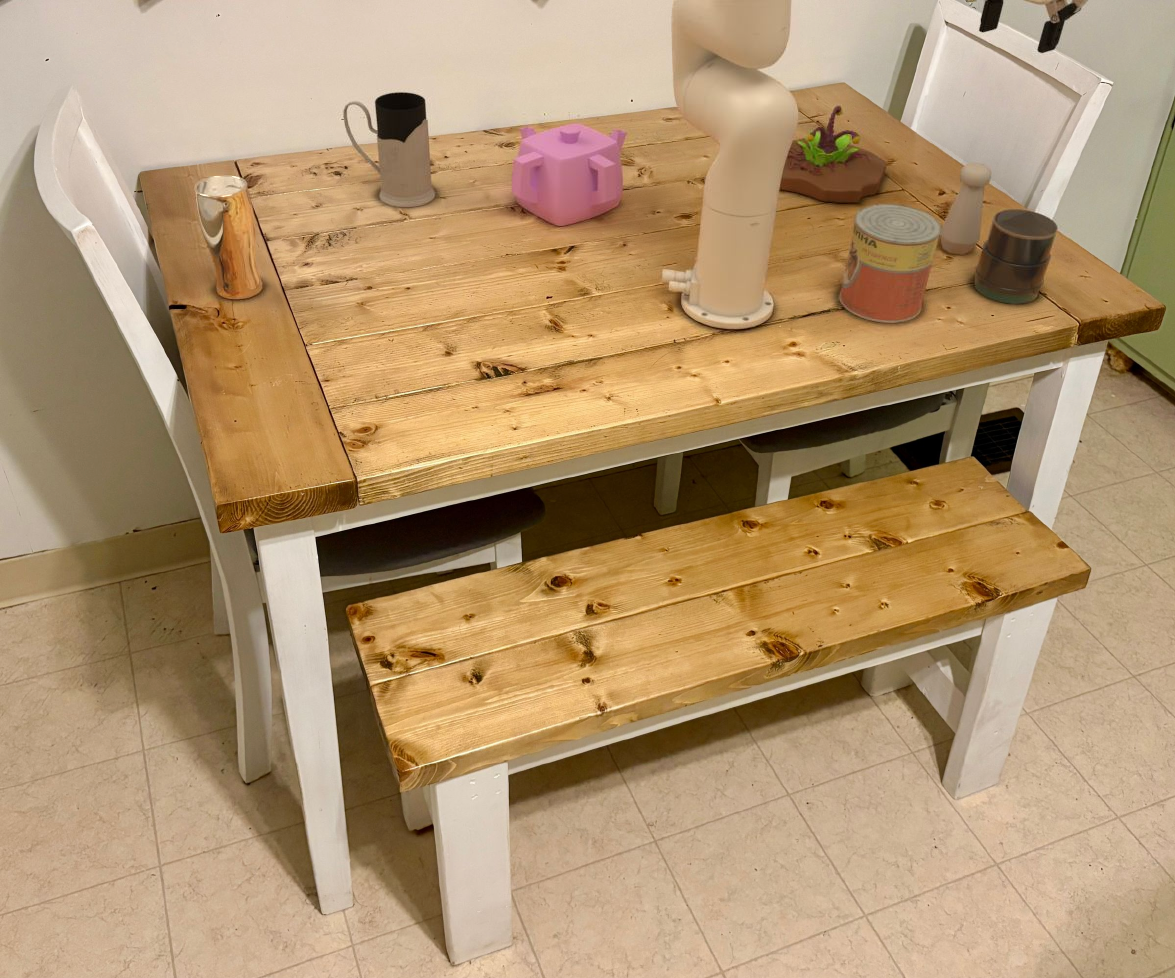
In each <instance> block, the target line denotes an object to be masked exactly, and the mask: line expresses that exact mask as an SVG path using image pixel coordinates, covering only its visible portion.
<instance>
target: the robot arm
mask: <svg viewBox="0 0 1175 978" xmlns="http://www.w3.org/2000/svg"><path fill="white" fill-rule="evenodd" d="M983 1H984V5H983V9H982V12H981V16H980V21H979V22H980V24H979V28H978V31H979V32H980V33H987V32H990V31H991V32H992V31H994V30H997V29H998V26H999V22H1000V18H1001V15H1002V10H1003V7H1004V0H983ZM1024 1H1025V2H1027V3H1031V4H1034V5H1039V6H1042V5H1043V6H1045V9H1046V12H1047V15H1048V17H1049V20H1046V21H1045V22H1044V24H1043V28H1042V31H1041V35H1040V38H1039V42H1038V44H1037V50H1036V51H1037V52H1038V53H1040V54H1044V53H1048V52H1051V51H1054V50H1055V49H1056V48H1057V46H1058V45H1059V43H1060V40H1061V36H1062V33H1063V29H1064V26H1065V23H1066V21H1067V20H1070V19H1071V18H1072V17H1073V16H1074V15H1076V14H1077V13H1079V12H1080V11H1081V10H1082V8H1083V7H1084V6H1085V5H1086V4H1087V2H1088V1H1089V0H1071V1H1070V3H1068V1H1067V0H1024ZM791 17H792V0H673V3H672V7H671V21H670V22H671V23H670V24H671V31H670V32H671V58H672V59H671V60H672V86H673V97H674V101H675V106H676V107H677V110H678V112H679V114H680V115H681V117H682V118H683V119H684V120H685V121H686V122H687V123H689V125H691V126H692V127H694V128H695V129H697V130H698V131H700V132H702V133H703V134H705V135H706V136H708V137H710V138H711V139H712V140H714V141H715V142H717V143H718V145H719V152H718V154H717V156H716V158H715V159H714V161H713V162H712V164H711V165H710V167H709V168H708V171H707V173H706V177H705V181H704V186H703V193H702V207H701V215H700V227H699V234H698V243H697V253H696V262H695V263H694V265H693V269H686V271H681V270H680V271H679V270H675V269H674V270H673V269H666V268H663V269H662V273H661V284H666V285H668V292H674V293H678V292H679V293H681V297H680V298H681V299H680V305H681V308H682V309H683V311H684V313H686V314H687V315H688V317H690V318H692V319H693V320H694V321H696V322H699V323H701V324H703V325H706V326H708V327H712V328H718V329H724V330H725V329H726V330H744V329H749V328H754V327H756V326H757V327H758V326H760V325H761V324H764V323H765V322H766V321H768V320H769V319H770V318H771V316H772V315H773V312H774V307H775V305H774V298H773V296H771V294H770V293H769V291H767V289H766V282H767V275H768V269H769V264H770V263H769V262H770V256H771V249H772V242H773V235H774V229H775V223H776V216H777V209H778V201H779V195H780V183H781V178H782V173H783V168H784V165H785V161H786V158H787V155H788V152H789V149H790V146H791V144H792V141H793V140H795V139H794V138H795V136H796V132H797V130H798V126H799V107H798V105H797V104H798V103H797V102H796V99H795V97H794V96H793V94H792V92H791V91H790V90H789V89H788V88H787V87H786V86H785V85H784V84H783V83H781V82H780V81H779V80H777V78H774V77H772V76H771V75H768V74H766V73H765V72H763V71H761V70H763V69H766V68H770V67H772V66H773V65H775V64H776V63H777V62H778V61H779V60H780V59H781V58H782V57H783V55H784V53H785V51H786V50H787V46H788V42H789V38H790V33H791V32H790V31H791V21H792V19H791Z"/></svg>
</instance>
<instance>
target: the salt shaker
mask: <svg viewBox="0 0 1175 978" xmlns="http://www.w3.org/2000/svg"><path fill="white" fill-rule="evenodd" d="M959 172H960V173H959V181H960V182H961V183H962V184H961V186H960V188H959V189H958V192H957V194H956V196H955V198H954V201H953V202H952V204H951V207H950V208H949V210H948V213H947V215H946V217H945V219H944V221H943V223H942V225H941V233H940V235H939V237H940V242H941V247H942V250H944V251H945V252H948V254H951V255H959V256H964V255H966V254H968V253H970V252H971V251H972V250H973V249H974V247H976V245H977V244H978V243H979V241H980V239H981V233H982V232H981V231H982V218H983V208H984V196H985V195H984V194H985V187H986V186H987V185H989V184H990V182H991V179H992V170H991V168H990V167H988V165H985V164H983V163H979V162H969V163H966V164H965V165H964V166H962V167H961V169H960V171H959Z"/></svg>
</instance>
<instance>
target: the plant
mask: <svg viewBox="0 0 1175 978" xmlns="http://www.w3.org/2000/svg"><path fill="white" fill-rule="evenodd" d="M841 115H843V107H842V106H841V105H836V106H835V107H834V108H833V110H832V112H831V114H830V117H829V118H828V123H827V126H826V129H825V127H824V126H820V125H819V126H817V127H816V128H815V129H812V130H811V131H810V132H809V133H808V134H807V135H806V136H805V137H804V138H797V139H793V141H792V144H791V146H790V149H789V152H788V155H787V158H786V161H785V165H784V168H783V173H782V178H781V183H780V189H779V191H780V190H781V191H786V192H791V193H796V194H799V195H803V196H807V197H810V198H812V199H813V198H814V199H816V200H819V201H820V202H824V203H825V202H829V203H836V204H846V203H849V204H859V203H860V200H861V199H862V198H864V197H869V196H874V195H876V194H877V193H878V190H879V188H880V186H881V184H882V181H883V179H884V178H885V174H886V171H887V170H886V169H887V161H886V160H884V159H882V158H881V157H879V156H878V155H876V154H875V153H873V152H872V151H869V150H867V149H864V148H861V147H858V146H855V145H859V143H860V141H861V136H860V134H858V133H857V132H856V131H854V130H849V129H846V130H842V131H840V132H838V133H836V134H835V131H834V127H835V125H834V124H835V119H836V116H837V117H838V116H841ZM851 143H852V144H854V145H851Z"/></svg>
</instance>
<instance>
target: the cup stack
mask: <svg viewBox="0 0 1175 978" xmlns="http://www.w3.org/2000/svg"><path fill="white" fill-rule="evenodd" d="M1057 233H1058V225H1057V223H1056V222H1055V221H1054V220H1053V219H1052V218H1050V217H1048V216H1047V215H1045V214H1042V213H1039V212H1036V211H1033V210H1032V211H1031V210H1027V209H1017V208H1011V209H1004V210H1000V211H998V212H996V213H995V214H994V216H993V218H992V222H991V226H990V229H989V232H988V235H987V239H986V240H985V241H984V242H983V246H982V249H981V252H980V256H979V260H978V263H977V265H976V266H975V270H974V281H973V282H974V283H973V284H974V288H975V289H976V290H977V292H978V293H980V294H981V295H982V296H984V297H986V298H987V299H990V300H992V301H995V302H1000V303H1003V304H1010V305H1011V304H1012V305H1022V304H1023V305H1024V304H1027V303H1031V302H1033V301H1034V300H1035V299H1036V298H1037V297H1038V294H1039V292H1040V291H1041V290H1042V289H1043V286H1044V283H1045V277H1046V274H1047V271H1048V268H1049V264H1050V261H1051V258H1052V255H1051V251H1052V249H1053V248H1052V247H1053V244H1054V241H1055V239H1056V236H1057Z"/></svg>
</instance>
